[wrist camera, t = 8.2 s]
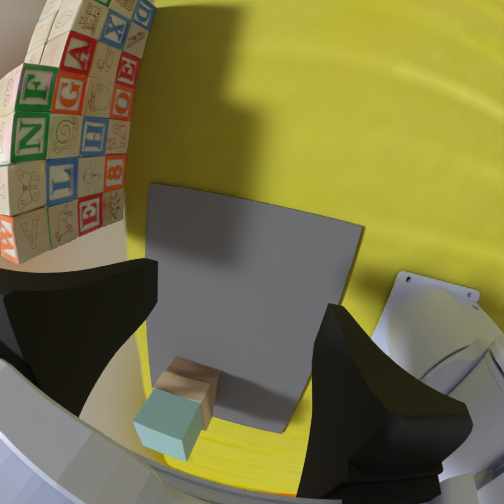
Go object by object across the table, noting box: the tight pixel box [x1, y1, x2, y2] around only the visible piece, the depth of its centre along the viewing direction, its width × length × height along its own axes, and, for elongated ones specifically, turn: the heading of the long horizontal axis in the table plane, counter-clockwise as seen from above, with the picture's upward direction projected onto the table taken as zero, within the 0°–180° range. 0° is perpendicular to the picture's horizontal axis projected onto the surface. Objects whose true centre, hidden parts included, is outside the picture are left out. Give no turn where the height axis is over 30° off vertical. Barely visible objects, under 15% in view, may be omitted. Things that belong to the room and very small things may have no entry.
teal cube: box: [133, 388, 202, 462], centre depth 20 cm, size 4×4×4 cm
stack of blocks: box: [0, 0, 156, 265], centre depth 14 cm, size 21×6×12 cm, turn 172°
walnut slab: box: [166, 356, 221, 408], centre depth 25 cm, size 5×5×2 cm
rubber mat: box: [145, 183, 362, 434], centre depth 24 cm, size 17×26×1 cm, turn 170°
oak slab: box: [152, 372, 213, 431], centre depth 23 cm, size 5×5×2 cm
